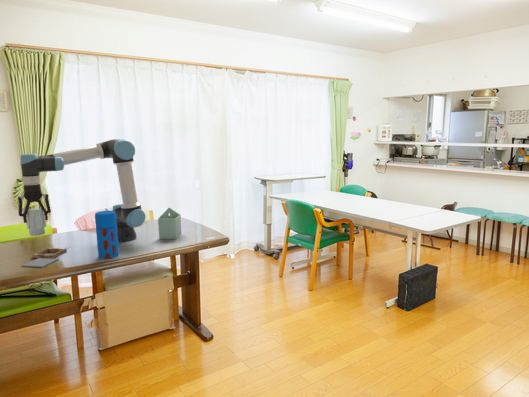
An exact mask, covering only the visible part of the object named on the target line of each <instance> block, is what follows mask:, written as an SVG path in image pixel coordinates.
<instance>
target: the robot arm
mask: <svg viewBox="0 0 529 397" xmlns="http://www.w3.org/2000/svg"><path fill="white" fill-rule="evenodd" d="M135 155H136V148H135V145H134V144H133V143H132V142H131V141H130V140H127V139H124V138H122V139H121V138H119V139H115V138H114V139H110V140H109V139H108V140H107V141H103V142H98V143H96V144H95V145H91V146H86V147H81V148H77V149H71V150H66V151H61V152H57V153H52V154H46V155H39V156H38V154H36V153H24V154H20V155H19V156H20V169H21V174H22V175H21V177H22V184H23V185H22V186H23V195H21V196H17V200H18V216H19V217H22V219H23V220H22V221H23V223H24V224H26V229H27V230H29V220H28V216H27V212H28V210H30V209H29V208H30V205H31V203H37V204H38V205H39V207H40V209H42V210H43V218H44V227H45V228H47V221H48V218H49V217H48V214H50V213H52V209H51V207H50V201H49V194H47V193H43V192H42V188H41V186H42V185H41V184H40V183H41V179H40V178H41V177H40V173H43V172H44V173H45V172H60V171H63V170H65V166H68V165H72V164H77V163H81V162H86V161H90V160H91V161H92V160H95V159H100V160H103V159H112V163H113V164H114V165H115V166H116V170H117V177H118V181H119V188H120V194H121V199H122V203H119V204H114V205H112V210H111V211H115V213H116V222H117V235H118V242H129V241H132V240H135V239H137V237H138V236H137V232H136V230H135V228H139V227H141V226H142V225H143V224H144V223H145V221H146V213H145V211H144V210H142V205H141V203H140V202H138V197H137V190H136V184H135V183H136V182H135V178H134V177H135V176H134V172H133V171H134V170H133V166H132V165H133V162H134V161H135V160H134V156H135ZM42 197H43V199H44V203H45V207H46V208H45V207H44V205H43V203H42V200H41V199H42ZM24 199H25V200H26V204H25V206H24V209H23V201H24Z"/></svg>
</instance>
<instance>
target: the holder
mask: <svg viewBox="0 0 529 397" xmlns="http://www.w3.org/2000/svg"><path fill="white" fill-rule="evenodd" d="M49 252H50V253H53V254H48V253H49ZM67 252H68V251H67V248H55V247H47V248H45V249H42V250H40V251H37V252H35V253H33V254H32V255H31V256H32V258H33V259H38V258H50V259H56V258H58V257H59V256H62V255H65V253H67Z"/></svg>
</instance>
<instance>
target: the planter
mask: <svg viewBox="0 0 529 397" xmlns="http://www.w3.org/2000/svg"><path fill="white" fill-rule="evenodd" d="M157 221H158V222H157V224H158V238H159V240H175V239H178V238H180V236H181V235H182V223H181V222H182V217H181V214H180V213H179V212H178V211H176V210H174V209H172V208H171V207H168V208H167V209H166V210H165V211H164V212H163V213H162V214H161V215H160V216H159V217H158V220H157Z"/></svg>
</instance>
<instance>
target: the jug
mask: <svg viewBox="0 0 529 397" xmlns="http://www.w3.org/2000/svg"><path fill="white" fill-rule="evenodd" d="M43 214H44V212H43V210H42V209H41V208H30V209H28V212H27V215H26V216H28V220H29V229H28V232H29V234H28V235H29V236H30V237H34V236H35V237H36V236H41V235H45V234H46V229H45V228H46V227H44V218H43Z"/></svg>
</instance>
